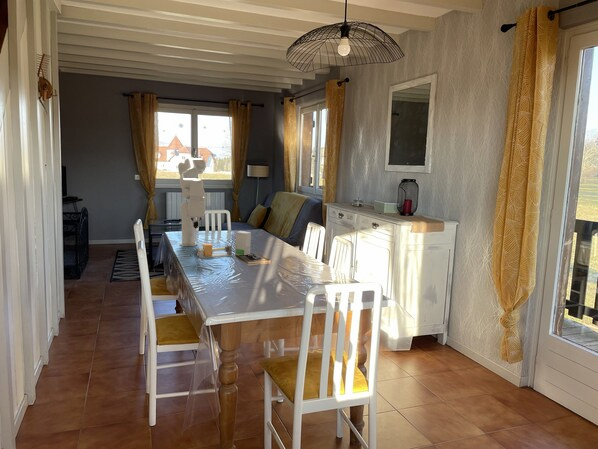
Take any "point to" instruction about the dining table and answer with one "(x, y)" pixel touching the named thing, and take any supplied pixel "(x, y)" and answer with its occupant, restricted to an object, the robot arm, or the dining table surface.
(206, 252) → the sleeve
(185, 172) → the robot arm
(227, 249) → the rail
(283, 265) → the dining table surface
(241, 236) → the skincare box
